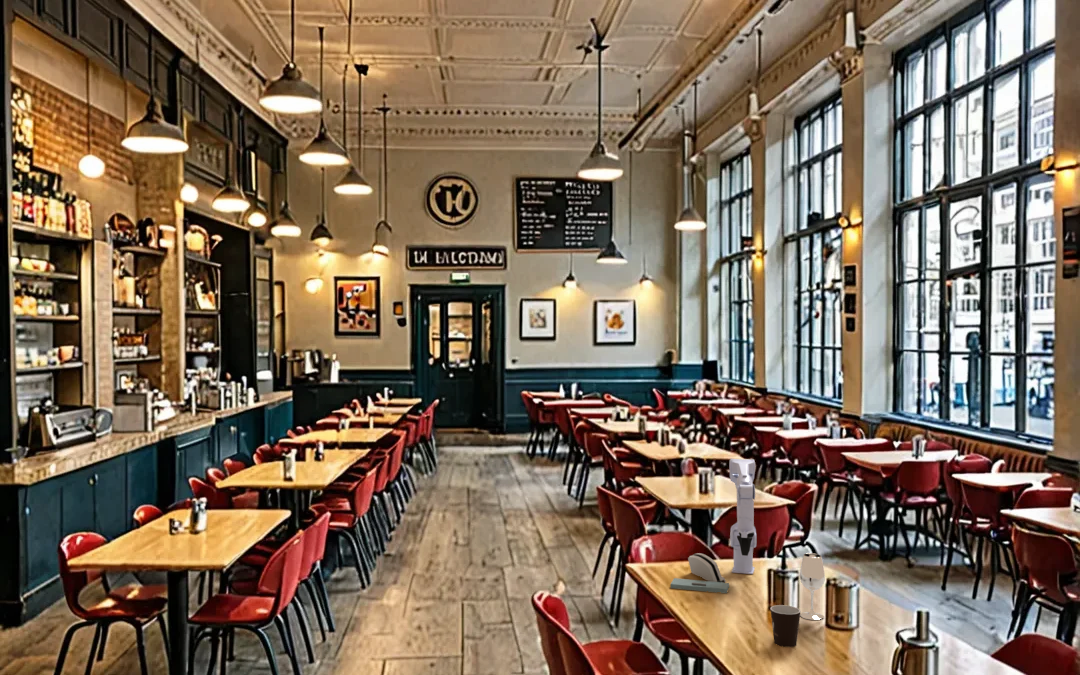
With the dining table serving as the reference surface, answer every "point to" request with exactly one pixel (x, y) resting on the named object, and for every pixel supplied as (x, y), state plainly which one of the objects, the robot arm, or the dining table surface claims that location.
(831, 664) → the dining table surface
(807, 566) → the wineglass
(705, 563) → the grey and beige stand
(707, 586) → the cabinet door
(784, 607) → the coffee mug
